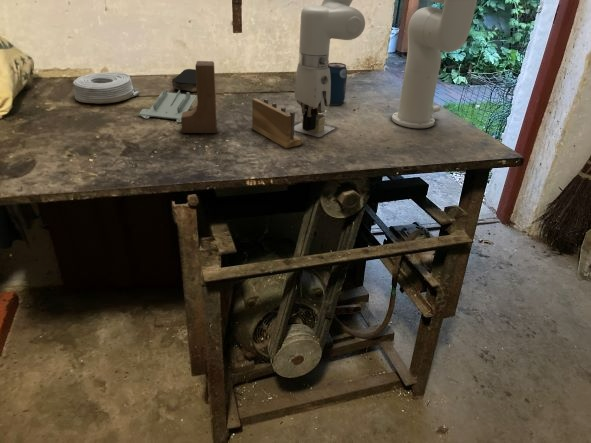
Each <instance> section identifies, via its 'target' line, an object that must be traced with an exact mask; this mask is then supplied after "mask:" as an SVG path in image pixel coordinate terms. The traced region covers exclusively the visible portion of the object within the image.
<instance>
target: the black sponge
mask: <svg viewBox="0 0 591 443" xmlns="http://www.w3.org/2000/svg"><path fill="white" fill-rule="evenodd" d="M171 84H172V88H173V89H175V90H178V91H179V90H180V91H185V92H190V93H196V92H197V84H196V68H186V69H184V70H182V71H181V72H180V73H179V74H178V75H177V76H175V77H174V78H172V79H171Z"/></svg>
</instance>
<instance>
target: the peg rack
mask: <svg viewBox="0 0 591 443" xmlns="http://www.w3.org/2000/svg"><path fill="white" fill-rule="evenodd" d="M251 101H252V102H251V106H252V110H251V111H252V112H251V114H252V115H251V116H252V117H251V118H252V120H251V121H252V126H251V128H252V130H254V131H255V132H257V133H259V134H261V135H262V136H263V137H265V138H268V139H269V140H271V141H273V142H274V143H276V144H278V145H280V146H281V147H283V148H284V149H289V148H293V147H297V146H301V145H302V143H303V142H302V141H303V140H302V138H301V137H298V136H297V135H295V130H294V126H295V122H296V119H295V118H296V112H295V111H293V110H292V111H291V110H290V112H289V113H287V112H286V111H287V109H286V106H281V107H280V109H279V108H277V107H278V103H277V102H272V103H271V104H269V98H263V101H262V100H261V99H258V98H255V97H254V98H252V100H251Z"/></svg>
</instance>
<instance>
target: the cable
mask: <svg viewBox="0 0 591 443" xmlns="http://www.w3.org/2000/svg"><path fill="white" fill-rule="evenodd" d="M72 84H73V89H74V91H73V92H74V93H73V94H74V99H75V100H76V101H78V102H80V103H84V104H85V103H86V104H111V103H118V102H122V101H125V100H129V99H131V98H133V97H138V96H139V94H140V88H135V87H134V86H133V83H132V79H131V76H130V75H129V74H127V73H125V72H118V71H116V72H115V71H110V72H109V71H108V72H107V71H106V72H96V73H90V74H84V75H82V76H79V77H77V78H76V79H74V81H73V82H72Z"/></svg>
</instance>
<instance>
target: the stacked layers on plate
mask: <svg viewBox="0 0 591 443" xmlns="http://www.w3.org/2000/svg"><path fill="white" fill-rule="evenodd" d="M313 109H314V108H313ZM326 112H327V110H326V109H325V112H324V113H318V115H317V116H316V126H315V129H313V130H309V131H306V130H304V129H303V119H301V121H300V122H299V123H297V124H294V132H300V133H303V134H307V135H309V136H314V137H317V138H321V137H323V136H324V135H326V134H327V133H330V132H331V131H333V130H335V129H336V128H335V127H332V126H329V125H326V124H327V121H326V117H328V115H327V114H325V113H326ZM301 116H302V117H303V114H302V113H301Z"/></svg>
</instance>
